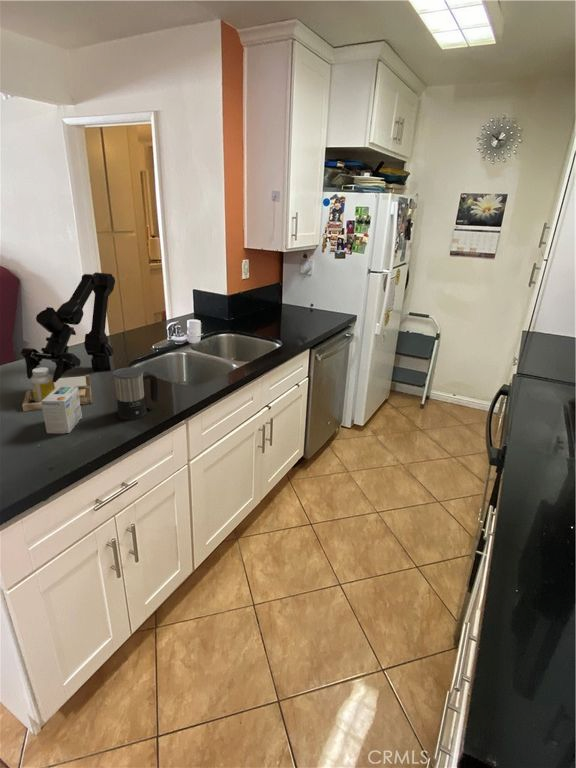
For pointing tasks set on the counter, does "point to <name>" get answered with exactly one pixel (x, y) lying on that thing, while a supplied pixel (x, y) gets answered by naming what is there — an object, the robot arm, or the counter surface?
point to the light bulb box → (61, 409)
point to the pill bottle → (41, 383)
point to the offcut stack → (82, 393)
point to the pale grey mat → (70, 382)
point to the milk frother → (133, 391)
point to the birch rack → (38, 405)
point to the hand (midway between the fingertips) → (41, 380)
